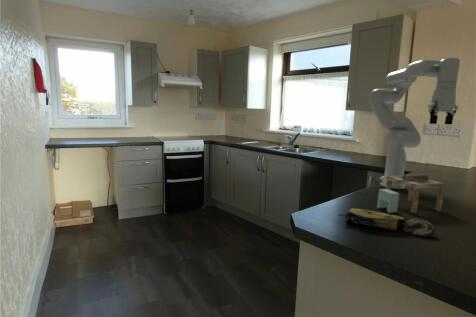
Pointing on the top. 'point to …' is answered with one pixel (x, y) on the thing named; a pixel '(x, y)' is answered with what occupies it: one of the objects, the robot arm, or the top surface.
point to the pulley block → (389, 221)
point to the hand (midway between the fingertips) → (440, 124)
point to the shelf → (418, 188)
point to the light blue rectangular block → (388, 200)
